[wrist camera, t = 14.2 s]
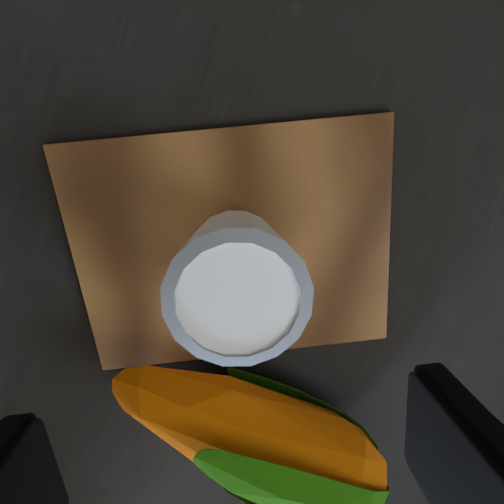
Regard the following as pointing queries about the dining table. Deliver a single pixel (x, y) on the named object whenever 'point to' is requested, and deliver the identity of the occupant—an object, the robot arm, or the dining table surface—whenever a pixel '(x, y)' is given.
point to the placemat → (220, 200)
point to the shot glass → (236, 292)
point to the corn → (257, 435)
